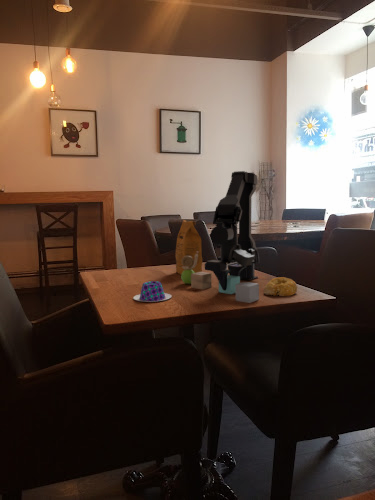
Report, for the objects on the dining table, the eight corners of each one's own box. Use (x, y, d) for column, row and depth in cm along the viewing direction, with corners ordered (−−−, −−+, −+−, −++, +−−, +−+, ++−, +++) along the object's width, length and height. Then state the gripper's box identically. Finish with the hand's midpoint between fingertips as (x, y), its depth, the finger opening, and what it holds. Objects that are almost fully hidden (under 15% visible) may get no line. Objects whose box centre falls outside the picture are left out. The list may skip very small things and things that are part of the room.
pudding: (152, 293, 139) (151, 277, 138) (179, 297, 131) (179, 281, 130) (125, 300, 130) (124, 283, 129) (153, 305, 122) (152, 288, 121)
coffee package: (195, 270, 180) (194, 219, 177) (204, 274, 168) (203, 220, 165) (173, 271, 177) (171, 220, 174) (181, 276, 165) (179, 221, 162)
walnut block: (200, 285, 148) (200, 271, 147) (211, 287, 145) (211, 273, 144) (191, 287, 144) (191, 273, 144) (202, 289, 141) (202, 275, 140)
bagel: (256, 292, 135) (256, 278, 135) (285, 289, 140) (285, 275, 139) (274, 299, 126) (274, 283, 126) (304, 295, 130) (304, 280, 130)
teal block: (227, 289, 140) (227, 274, 139) (240, 291, 137) (239, 276, 136) (218, 292, 136) (218, 277, 136) (231, 294, 133) (230, 278, 132)
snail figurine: (197, 285, 147) (196, 252, 146) (179, 285, 149) (179, 252, 147) (200, 282, 153) (199, 250, 151) (183, 282, 154) (182, 250, 153)
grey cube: (245, 297, 128) (244, 281, 128) (258, 300, 125) (258, 283, 124) (235, 300, 125) (235, 284, 124) (249, 303, 121) (249, 286, 121)
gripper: (232, 245, 122) (232, 297, 124) (265, 240, 136) (265, 286, 138) (203, 243, 130) (204, 292, 132) (237, 238, 144) (237, 282, 145)
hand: (229, 288), depth 136 cm, fingers closed on teal block, 5 cm apart
